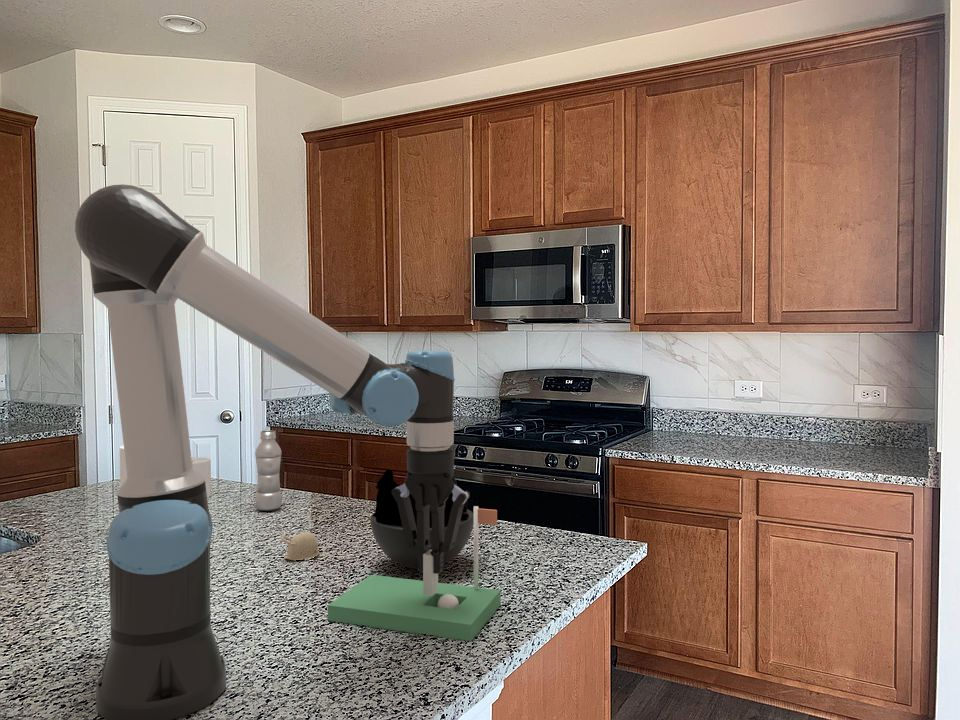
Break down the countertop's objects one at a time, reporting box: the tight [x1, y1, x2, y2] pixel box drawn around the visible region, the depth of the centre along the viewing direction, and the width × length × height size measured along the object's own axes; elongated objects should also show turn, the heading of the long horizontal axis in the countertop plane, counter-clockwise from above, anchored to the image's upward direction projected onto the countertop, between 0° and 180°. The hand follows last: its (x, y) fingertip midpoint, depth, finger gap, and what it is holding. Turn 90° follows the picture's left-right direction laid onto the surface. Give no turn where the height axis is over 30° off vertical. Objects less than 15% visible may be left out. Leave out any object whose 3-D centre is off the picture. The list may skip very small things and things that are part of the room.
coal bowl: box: [369, 469, 474, 570], centre depth 142 cm, size 20×20×19 cm
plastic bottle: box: [254, 429, 283, 512], centre depth 186 cm, size 6×7×20 cm
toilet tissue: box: [191, 456, 212, 499], centre depth 200 cm, size 11×12×10 cm
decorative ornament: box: [280, 531, 320, 562], centre depth 148 cm, size 4×8×5 cm, turn 126°
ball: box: [437, 594, 459, 609], centre depth 118 cm, size 4×4×4 cm
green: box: [327, 505, 502, 642], centre depth 120 cm, size 15×24×16 cm, turn 72°
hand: (430, 591), depth 119 cm, fingers closed
